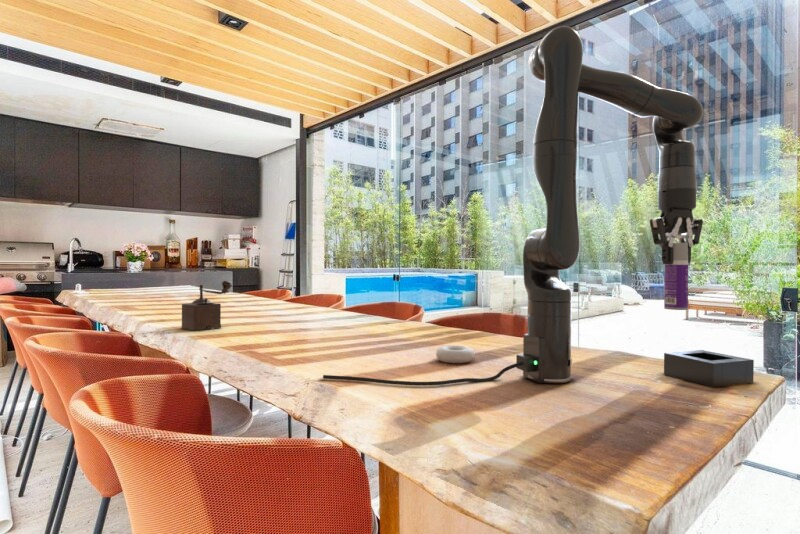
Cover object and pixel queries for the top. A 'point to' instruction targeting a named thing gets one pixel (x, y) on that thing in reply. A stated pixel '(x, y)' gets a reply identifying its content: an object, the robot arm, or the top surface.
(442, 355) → the donut
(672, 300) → the container
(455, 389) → the top surface
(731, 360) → the stand
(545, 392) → the top surface
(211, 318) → the coffee grinder
